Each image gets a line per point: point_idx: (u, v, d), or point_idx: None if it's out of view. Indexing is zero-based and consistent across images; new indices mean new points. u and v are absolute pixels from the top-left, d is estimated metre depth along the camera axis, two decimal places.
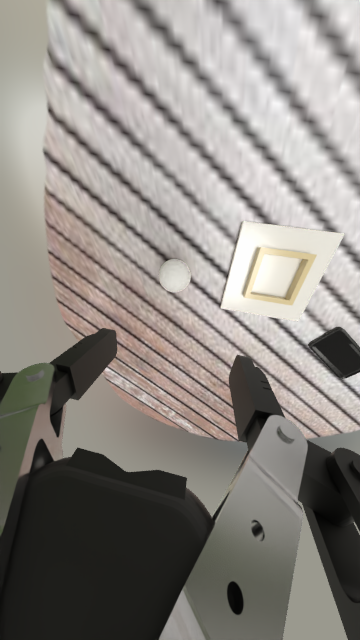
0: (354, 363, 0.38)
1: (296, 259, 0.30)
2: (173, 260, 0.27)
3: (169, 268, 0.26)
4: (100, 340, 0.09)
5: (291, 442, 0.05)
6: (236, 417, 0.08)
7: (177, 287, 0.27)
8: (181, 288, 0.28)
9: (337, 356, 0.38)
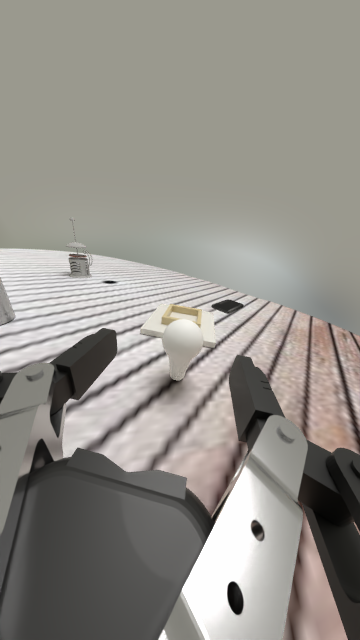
0: (230, 302, 0.66)
1: (172, 313, 0.46)
2: (164, 331, 0.22)
3: (173, 324, 0.21)
4: (100, 340, 0.09)
5: (291, 442, 0.05)
6: (236, 417, 0.08)
7: (196, 324, 0.22)
8: None
9: (229, 305, 0.62)
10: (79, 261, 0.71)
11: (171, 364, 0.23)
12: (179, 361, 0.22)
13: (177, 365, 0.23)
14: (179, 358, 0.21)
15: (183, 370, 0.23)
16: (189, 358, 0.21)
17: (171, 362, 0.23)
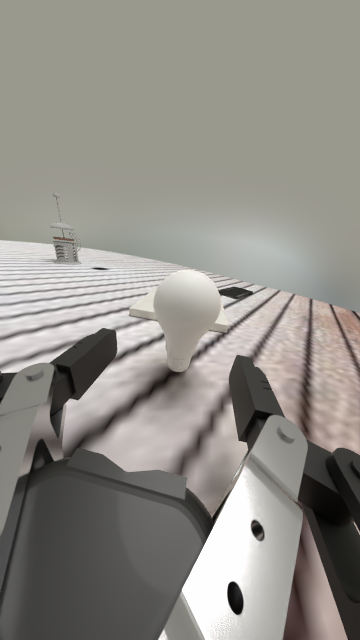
0: (238, 289, 0.58)
1: None
2: (156, 290, 0.14)
3: (172, 274, 0.13)
4: (100, 340, 0.09)
5: (291, 442, 0.05)
6: (236, 417, 0.08)
7: None
8: None
9: (237, 292, 0.54)
10: (65, 244, 0.62)
11: (169, 345, 0.15)
12: (181, 338, 0.13)
13: (177, 346, 0.14)
14: (182, 331, 0.12)
15: (188, 355, 0.15)
16: (199, 331, 0.12)
17: (169, 342, 0.14)
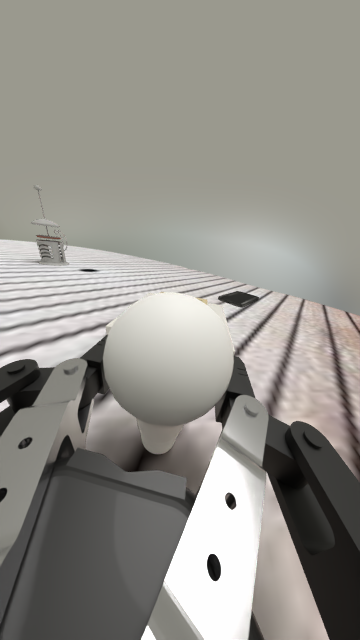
0: (242, 294, 0.52)
1: None
2: None
3: (138, 303, 0.06)
4: None
5: (254, 416, 0.06)
6: None
7: None
8: None
9: (241, 298, 0.48)
10: (49, 243, 0.56)
11: (139, 421, 0.08)
12: None
13: (152, 429, 0.08)
14: (154, 424, 0.06)
15: (172, 436, 0.09)
16: None
17: None
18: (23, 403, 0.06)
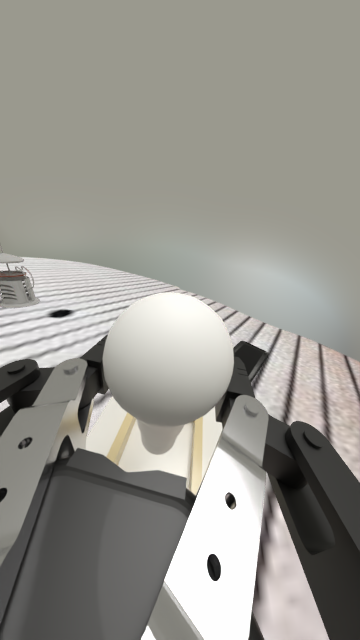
0: (247, 349, 0.42)
1: None
2: None
3: (137, 303, 0.06)
4: None
5: (254, 416, 0.06)
6: None
7: (210, 308, 0.08)
8: None
9: (248, 359, 0.38)
10: (10, 283, 0.46)
11: (139, 421, 0.08)
12: (155, 426, 0.07)
13: (152, 429, 0.08)
14: (154, 425, 0.06)
15: (172, 437, 0.09)
16: (189, 422, 0.06)
17: None
18: (23, 403, 0.06)
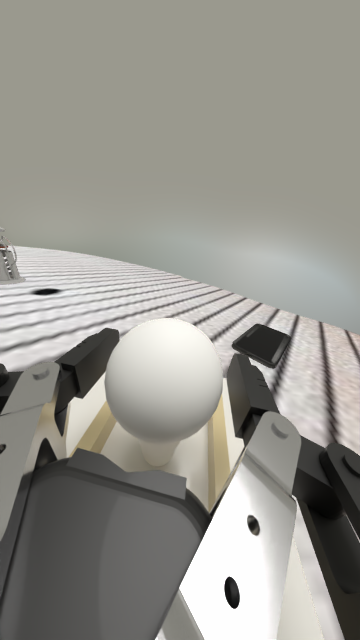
0: (265, 332, 0.35)
1: None
2: None
3: (134, 332, 0.07)
4: (104, 340, 0.09)
5: (285, 437, 0.05)
6: (233, 414, 0.08)
7: (201, 331, 0.08)
8: None
9: (267, 342, 0.31)
10: None
11: None
12: None
13: (151, 444, 0.08)
14: (152, 442, 0.07)
15: (170, 450, 0.09)
16: None
17: None
18: None
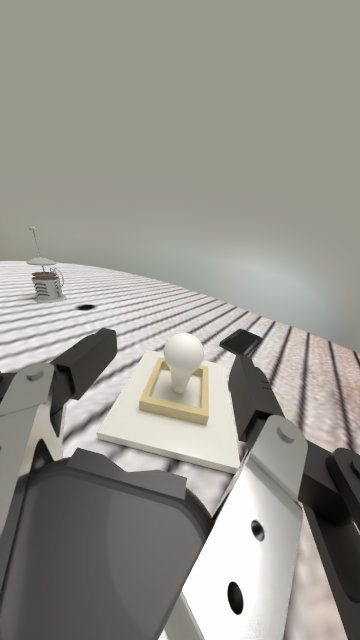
0: (244, 335, 0.50)
1: (161, 372, 0.30)
2: (165, 346, 0.23)
3: (174, 338, 0.22)
4: (100, 340, 0.09)
5: (291, 442, 0.05)
6: (236, 417, 0.08)
7: None
8: None
9: (244, 342, 0.45)
10: (45, 282, 0.55)
11: (173, 377, 0.24)
12: (180, 375, 0.22)
13: (178, 378, 0.23)
14: (180, 372, 0.21)
15: (185, 383, 0.24)
16: (190, 372, 0.21)
17: (173, 375, 0.23)
18: None
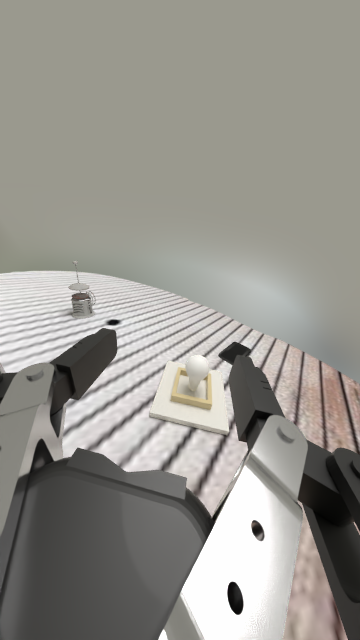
0: (237, 347, 0.65)
1: (180, 377, 0.45)
2: (186, 363, 0.38)
3: (192, 359, 0.37)
4: (100, 340, 0.09)
5: (291, 442, 0.05)
6: (236, 417, 0.08)
7: (205, 358, 0.38)
8: None
9: (237, 353, 0.61)
10: (82, 302, 0.69)
11: (190, 381, 0.39)
12: (195, 380, 0.37)
13: (194, 382, 0.38)
14: (196, 379, 0.37)
15: (197, 385, 0.39)
16: (202, 379, 0.37)
17: (190, 380, 0.39)
18: None
